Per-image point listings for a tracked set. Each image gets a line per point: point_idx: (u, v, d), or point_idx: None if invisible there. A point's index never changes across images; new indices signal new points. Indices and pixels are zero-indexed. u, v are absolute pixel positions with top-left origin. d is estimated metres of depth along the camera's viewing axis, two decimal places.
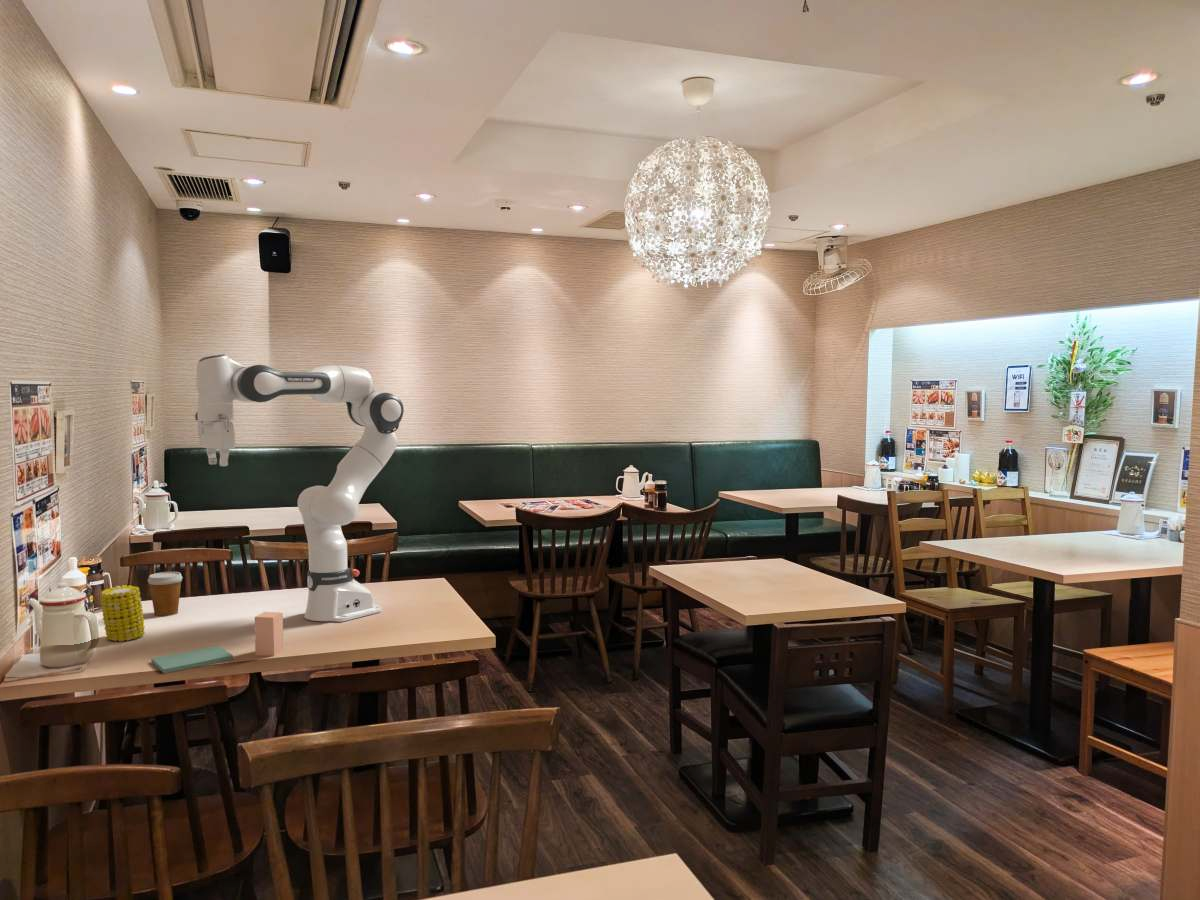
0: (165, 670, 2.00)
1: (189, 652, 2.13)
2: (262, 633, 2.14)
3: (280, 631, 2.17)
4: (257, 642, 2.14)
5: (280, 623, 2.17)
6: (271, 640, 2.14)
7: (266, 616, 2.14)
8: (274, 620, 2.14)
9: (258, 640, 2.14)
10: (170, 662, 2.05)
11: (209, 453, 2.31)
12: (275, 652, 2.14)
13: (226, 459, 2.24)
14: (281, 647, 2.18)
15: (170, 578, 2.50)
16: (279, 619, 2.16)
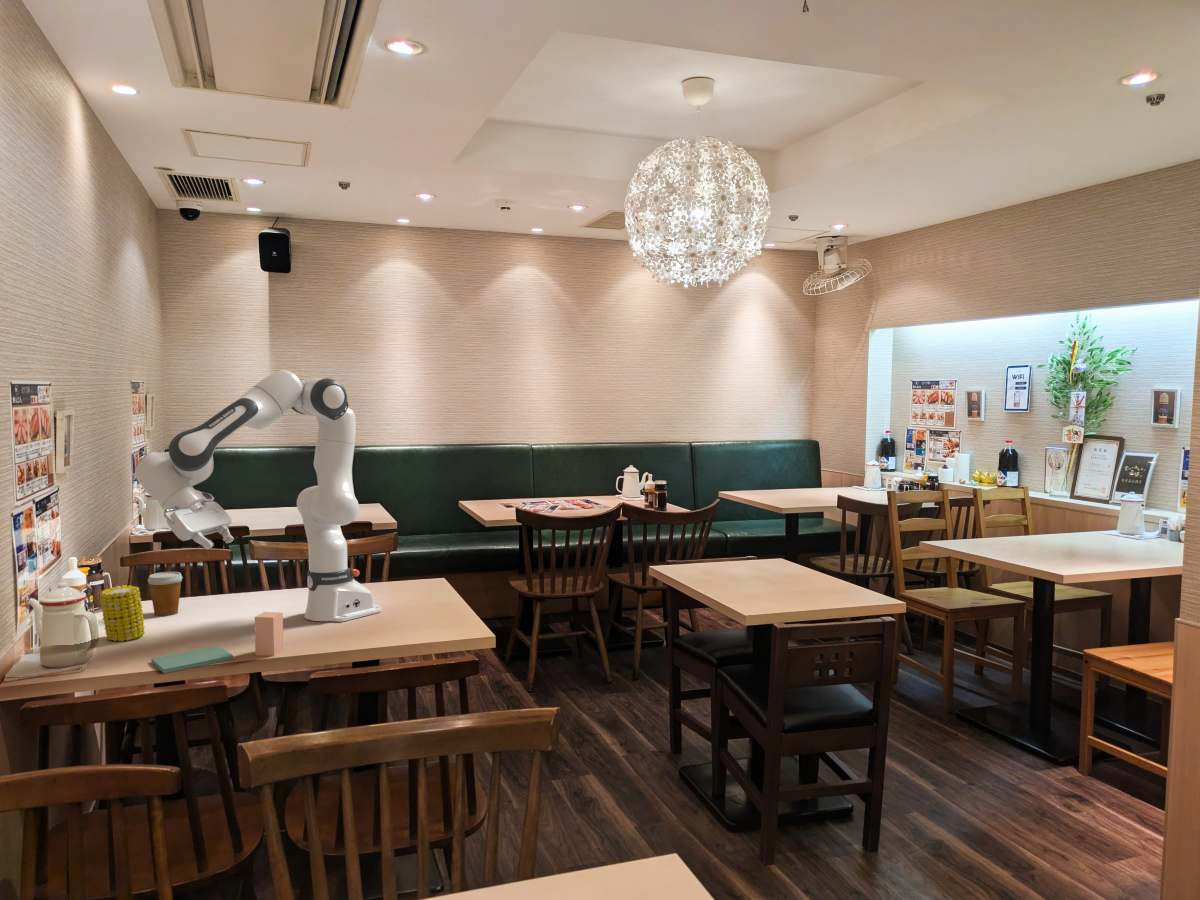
0: (165, 670, 2.00)
1: (189, 652, 2.13)
2: (262, 633, 2.14)
3: (280, 631, 2.17)
4: (257, 642, 2.14)
5: (280, 623, 2.17)
6: (271, 640, 2.14)
7: (266, 616, 2.14)
8: (274, 620, 2.14)
9: (258, 640, 2.14)
10: (170, 662, 2.05)
11: (223, 534, 2.22)
12: (275, 652, 2.14)
13: (205, 541, 2.10)
14: (281, 647, 2.18)
15: (170, 578, 2.50)
16: (279, 619, 2.16)
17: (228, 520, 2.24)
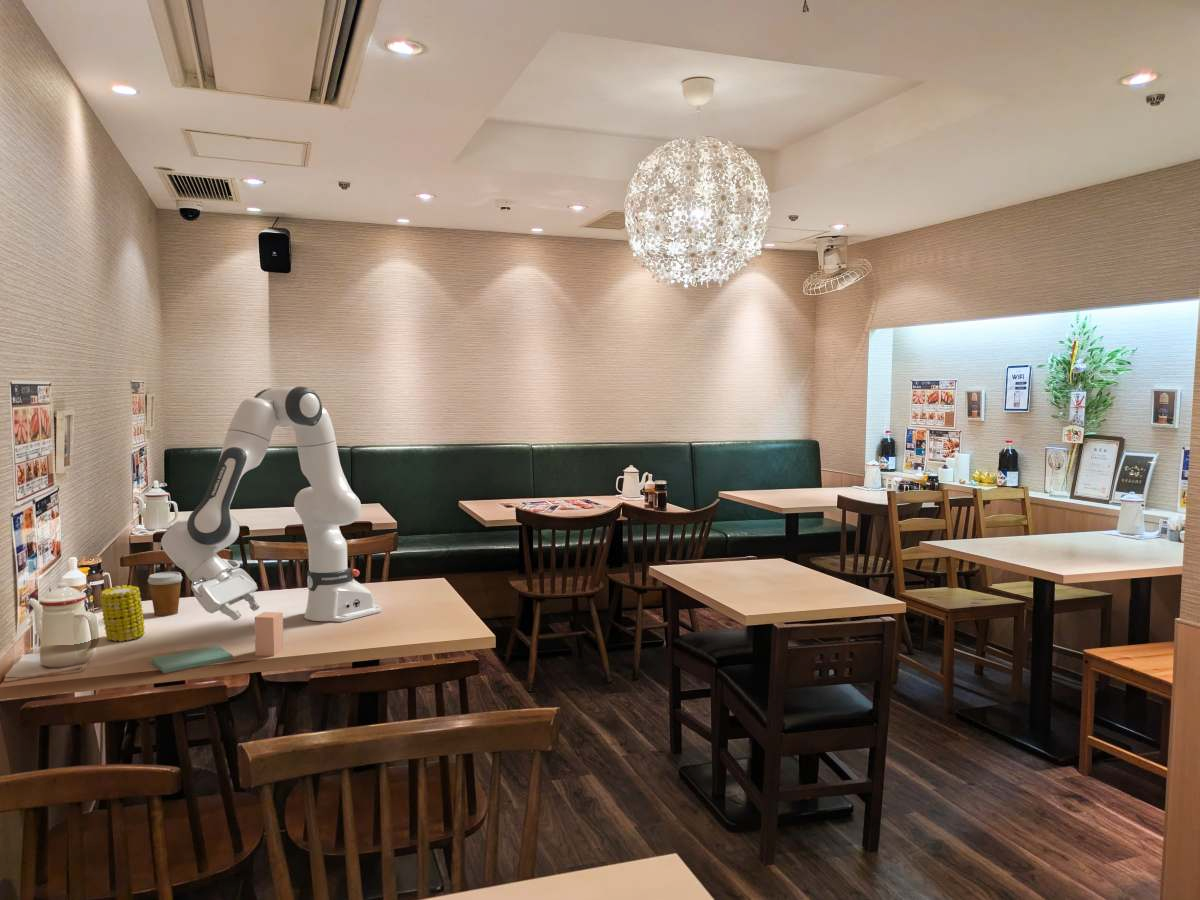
0: (165, 670, 2.00)
1: (189, 652, 2.13)
2: (263, 633, 2.14)
3: (280, 631, 2.17)
4: (257, 642, 2.14)
5: (280, 623, 2.17)
6: (271, 640, 2.14)
7: (266, 616, 2.14)
8: (274, 620, 2.14)
9: (258, 640, 2.14)
10: (170, 662, 2.05)
11: (249, 601, 2.22)
12: (275, 652, 2.14)
13: (233, 612, 2.11)
14: (281, 647, 2.18)
15: (170, 578, 2.50)
16: (279, 619, 2.16)
17: (254, 586, 2.24)
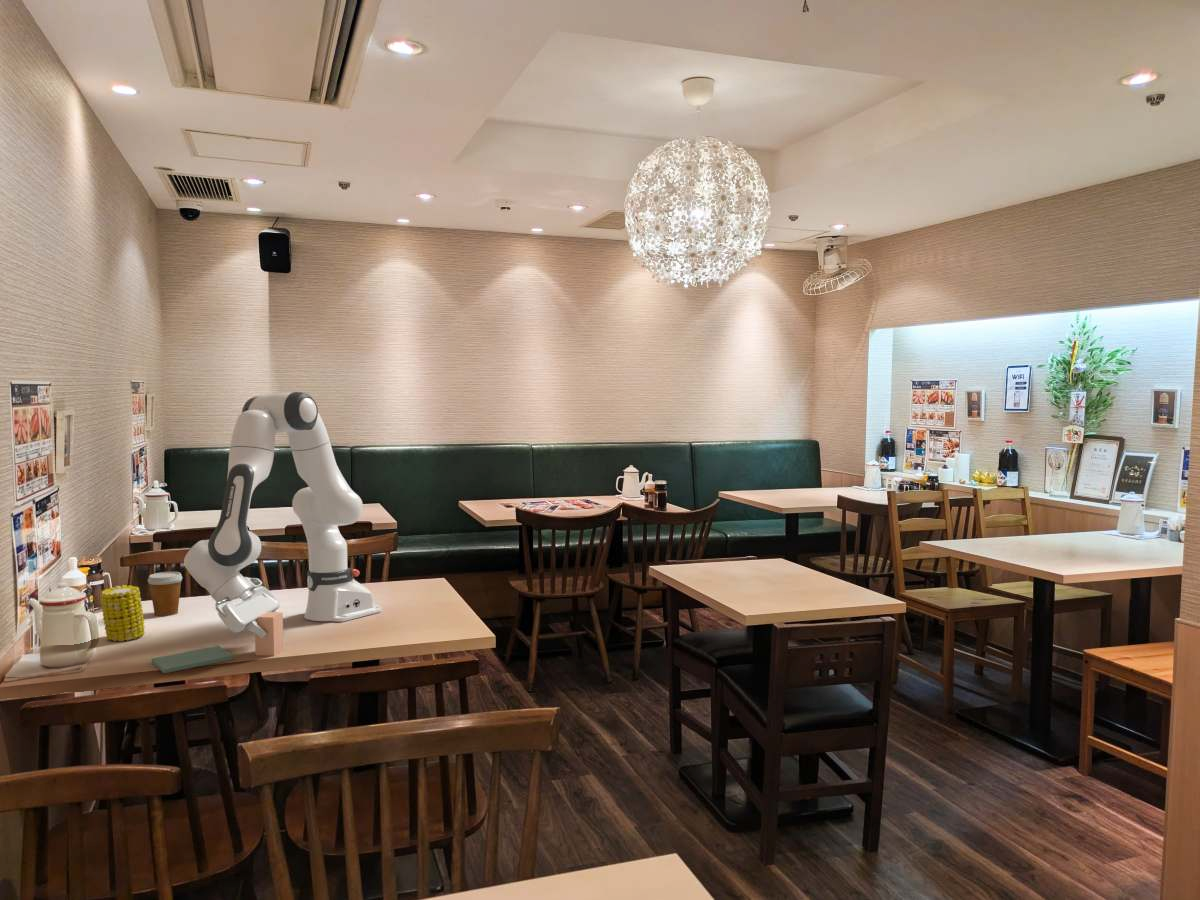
0: (165, 670, 2.00)
1: (189, 652, 2.13)
2: None
3: (280, 630, 2.17)
4: (257, 642, 2.14)
5: (280, 623, 2.17)
6: (271, 640, 2.14)
7: (266, 616, 2.14)
8: (274, 620, 2.14)
9: (258, 640, 2.14)
10: (170, 662, 2.05)
11: None
12: (275, 652, 2.14)
13: (260, 630, 2.12)
14: (281, 647, 2.18)
15: (170, 578, 2.50)
16: (279, 619, 2.16)
17: (276, 604, 2.24)
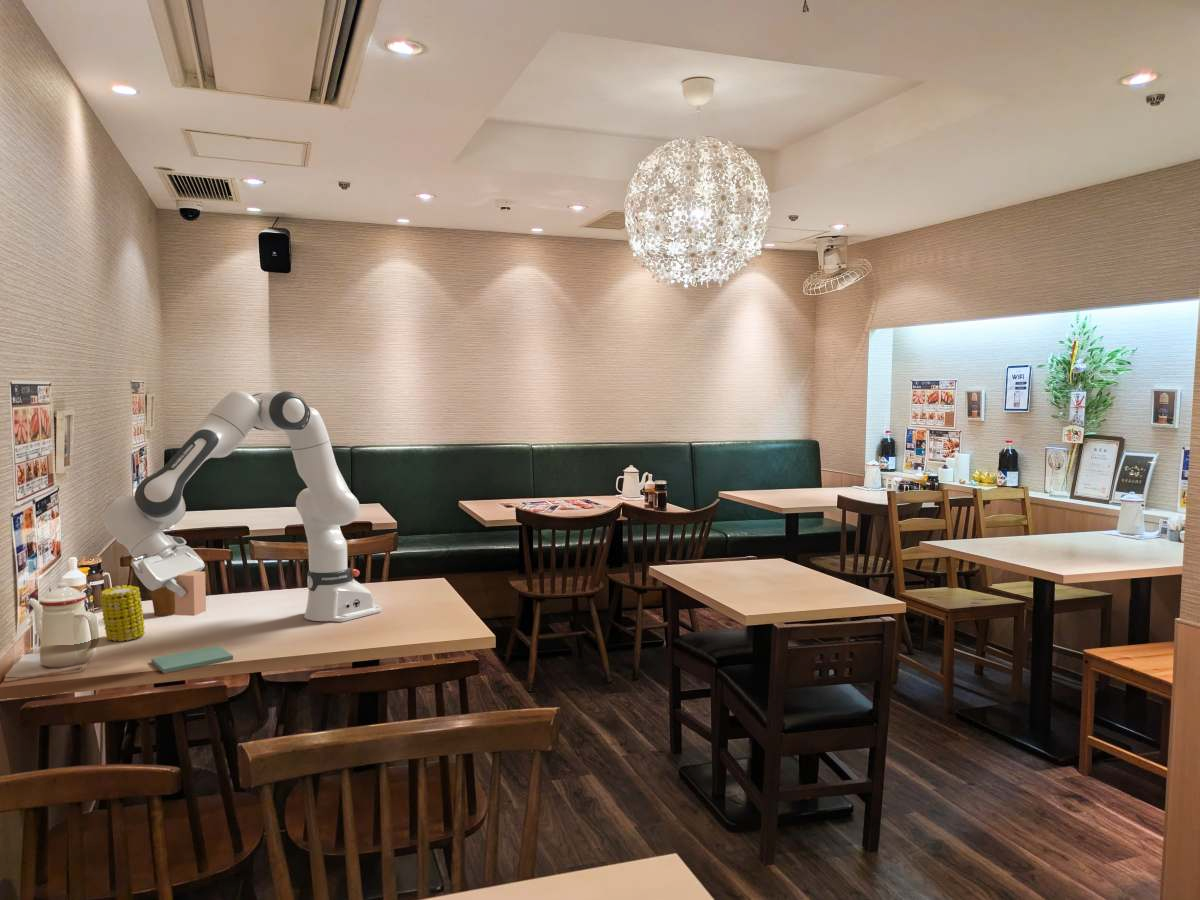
0: (165, 670, 2.00)
1: (189, 652, 2.13)
2: None
3: (202, 590, 2.09)
4: (177, 601, 2.06)
5: (202, 582, 2.09)
6: (191, 599, 2.06)
7: (187, 574, 2.06)
8: (194, 579, 2.06)
9: (178, 599, 2.06)
10: (170, 662, 2.05)
11: None
12: (196, 612, 2.07)
13: (179, 588, 2.04)
14: (203, 607, 2.10)
15: None
16: (201, 578, 2.09)
17: (201, 565, 2.16)
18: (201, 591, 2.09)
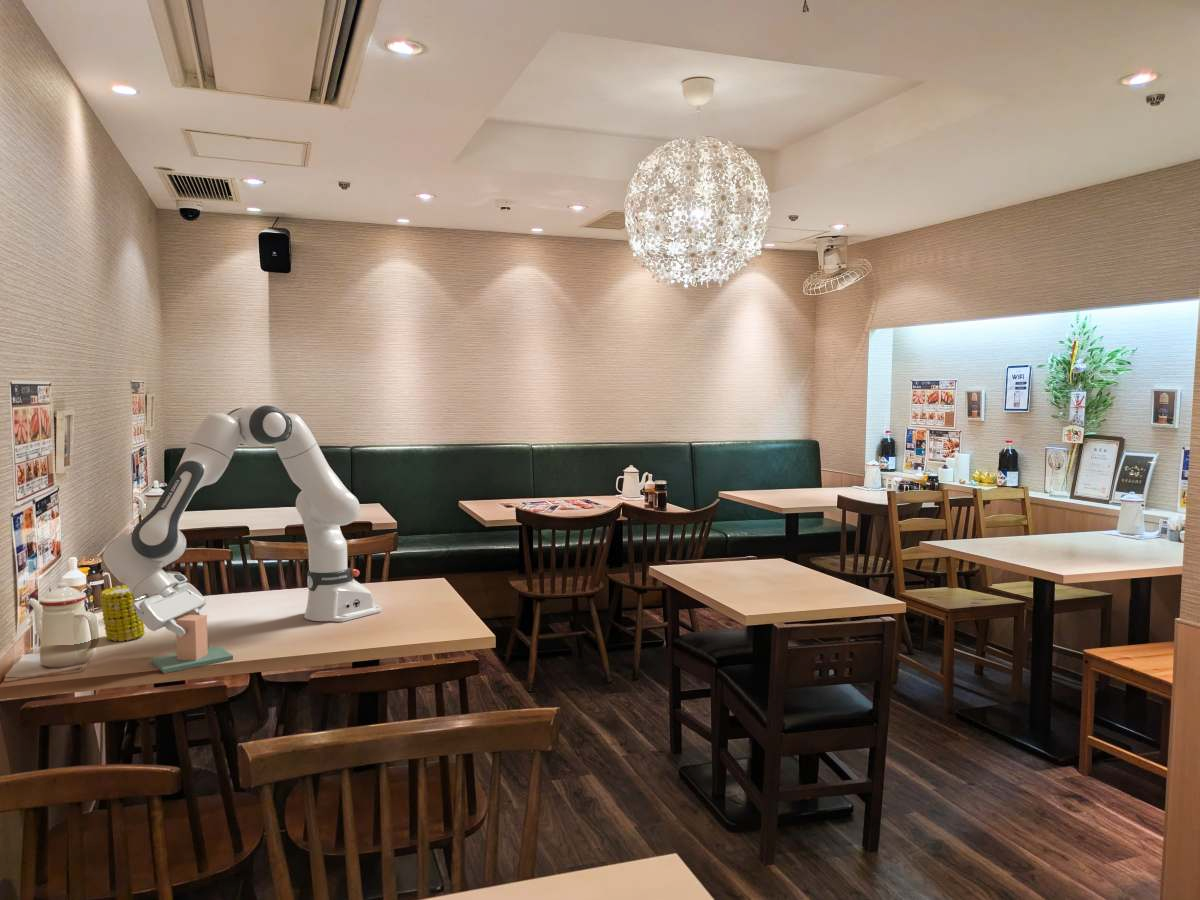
0: (165, 670, 2.00)
1: None
2: (184, 637, 2.07)
3: (204, 634, 2.10)
4: (179, 646, 2.07)
5: (204, 626, 2.10)
6: (193, 644, 2.07)
7: (188, 619, 2.07)
8: (196, 623, 2.07)
9: (180, 644, 2.07)
10: (170, 662, 2.05)
11: None
12: (198, 656, 2.07)
13: (179, 628, 2.04)
14: (205, 651, 2.11)
15: None
16: (202, 622, 2.09)
17: (202, 601, 2.17)
18: (203, 635, 2.10)
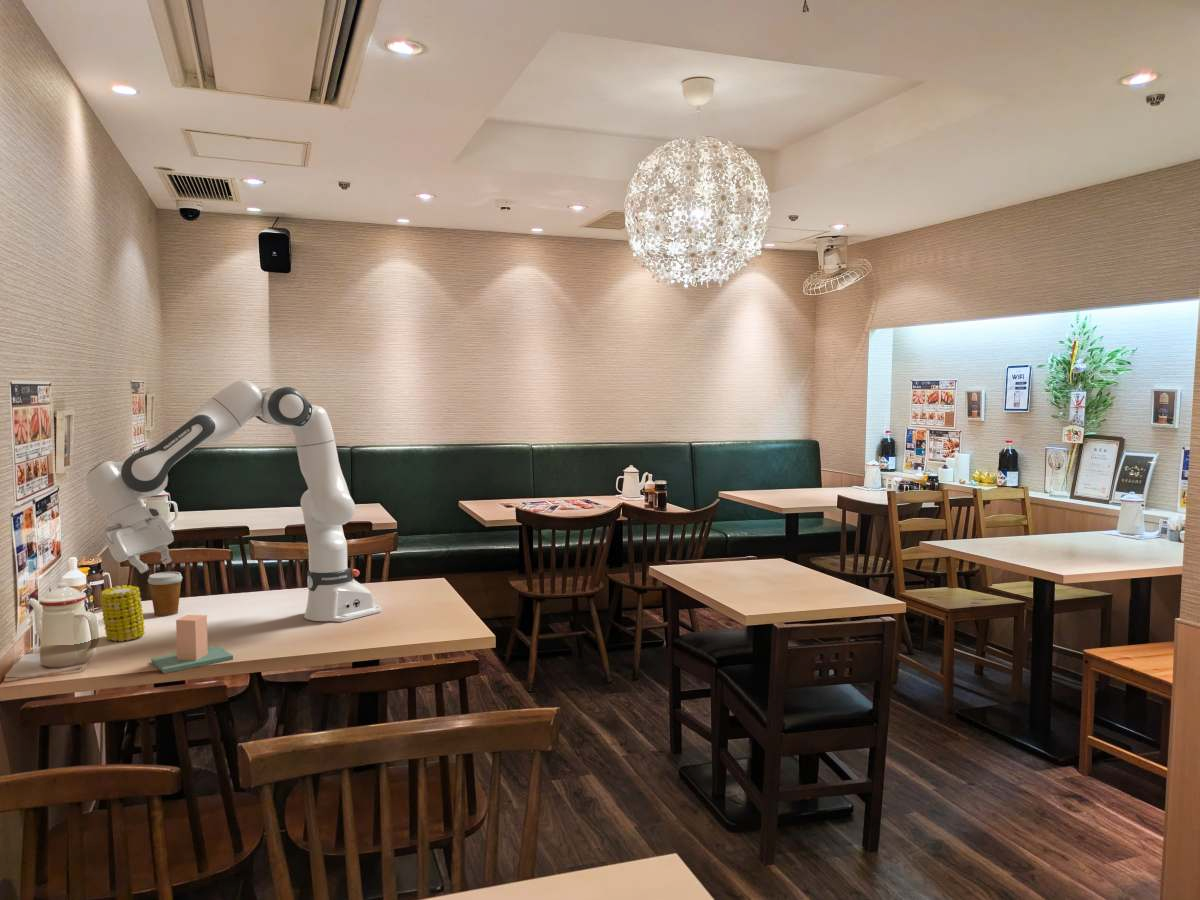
0: (165, 670, 2.00)
1: None
2: (184, 637, 2.07)
3: (204, 634, 2.10)
4: (179, 646, 2.07)
5: (204, 626, 2.10)
6: (193, 644, 2.07)
7: (188, 619, 2.07)
8: (196, 623, 2.07)
9: (180, 644, 2.07)
10: (170, 662, 2.05)
11: (162, 553, 2.22)
12: (198, 656, 2.07)
13: (141, 565, 2.11)
14: (205, 651, 2.11)
15: (170, 578, 2.50)
16: (202, 622, 2.09)
17: (170, 539, 2.24)
18: (203, 635, 2.10)
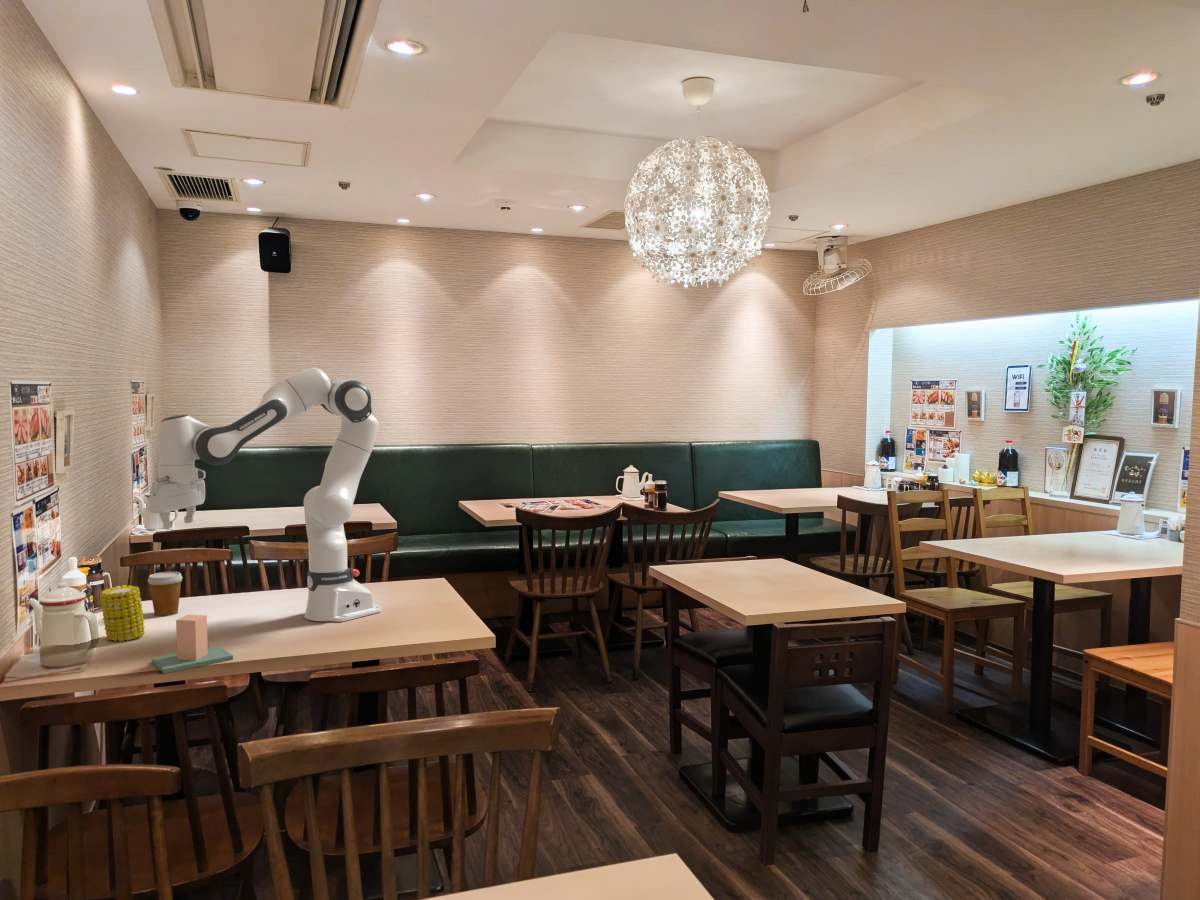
0: (165, 670, 2.00)
1: None
2: (184, 637, 2.07)
3: (204, 634, 2.10)
4: (179, 646, 2.07)
5: (204, 626, 2.10)
6: (193, 644, 2.07)
7: (188, 619, 2.07)
8: (196, 623, 2.07)
9: (180, 644, 2.07)
10: (170, 662, 2.05)
11: (188, 511, 2.32)
12: (198, 656, 2.07)
13: (167, 522, 2.21)
14: (205, 651, 2.11)
15: (170, 578, 2.50)
16: (202, 622, 2.09)
17: (201, 502, 2.35)
18: (203, 635, 2.10)
